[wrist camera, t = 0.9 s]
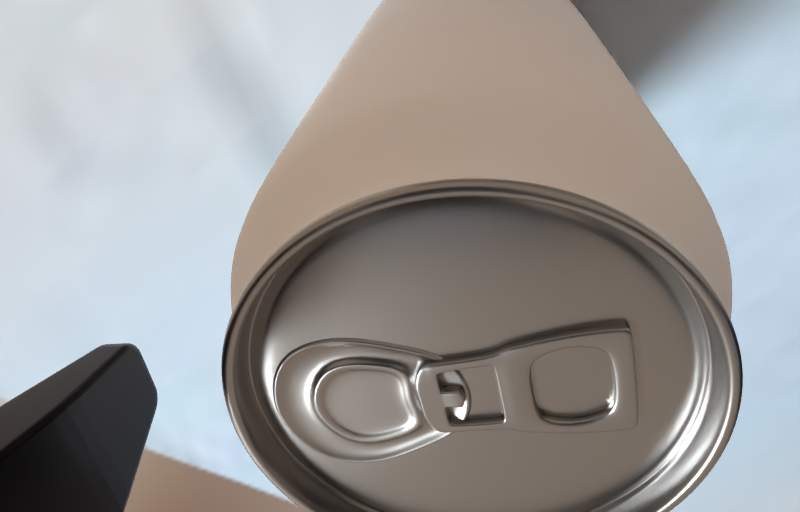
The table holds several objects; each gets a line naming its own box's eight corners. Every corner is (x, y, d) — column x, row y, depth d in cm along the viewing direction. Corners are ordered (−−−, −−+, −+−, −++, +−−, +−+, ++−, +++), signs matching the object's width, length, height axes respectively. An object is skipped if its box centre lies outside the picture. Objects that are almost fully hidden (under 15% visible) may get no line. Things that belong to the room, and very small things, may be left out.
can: (322, -11, 16) (73, 205, 6) (584, -76, 15) (822, 63, 5) (384, 211, 19) (289, 597, 9) (604, 174, 18) (772, 575, 8)
